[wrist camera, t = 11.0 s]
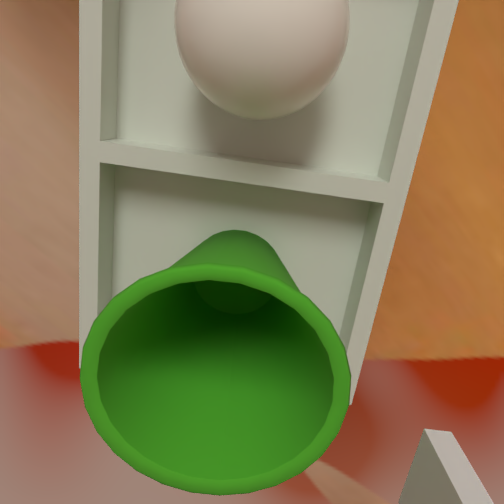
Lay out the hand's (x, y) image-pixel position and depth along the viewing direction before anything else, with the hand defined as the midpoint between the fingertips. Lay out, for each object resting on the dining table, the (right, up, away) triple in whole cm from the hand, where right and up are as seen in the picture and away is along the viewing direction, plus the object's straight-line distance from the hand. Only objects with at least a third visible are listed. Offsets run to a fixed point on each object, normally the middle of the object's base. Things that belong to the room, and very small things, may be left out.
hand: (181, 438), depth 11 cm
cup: (+1, +4, +13) cm, 13 cm away
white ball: (+2, +15, +9) cm, 18 cm away
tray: (+2, +10, +11) cm, 15 cm away
